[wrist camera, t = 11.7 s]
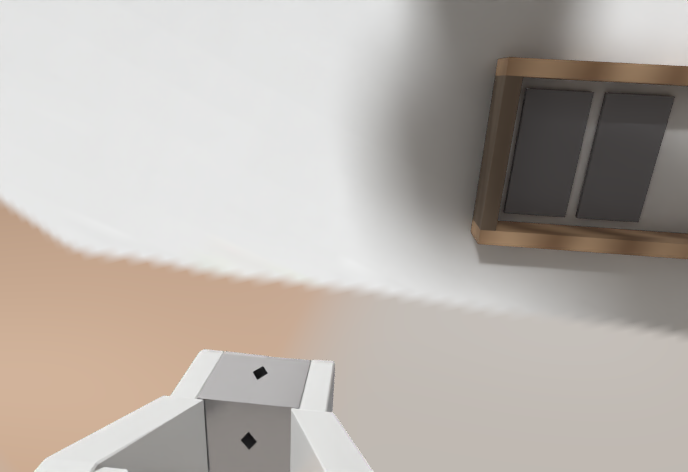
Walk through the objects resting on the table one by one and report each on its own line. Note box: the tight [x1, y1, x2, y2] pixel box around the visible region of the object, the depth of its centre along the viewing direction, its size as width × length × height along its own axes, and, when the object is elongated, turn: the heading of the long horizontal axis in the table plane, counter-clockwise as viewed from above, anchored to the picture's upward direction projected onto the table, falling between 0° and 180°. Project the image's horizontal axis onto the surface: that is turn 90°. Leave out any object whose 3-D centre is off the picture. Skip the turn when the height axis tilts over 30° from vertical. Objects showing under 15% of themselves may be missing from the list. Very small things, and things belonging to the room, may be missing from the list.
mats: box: [504, 88, 675, 222], centre depth 35 cm, size 11×10×1 cm
